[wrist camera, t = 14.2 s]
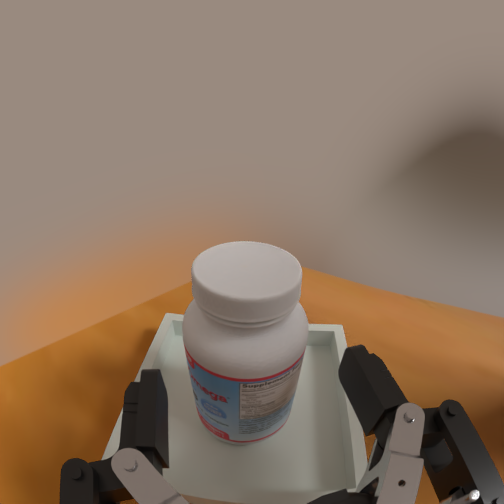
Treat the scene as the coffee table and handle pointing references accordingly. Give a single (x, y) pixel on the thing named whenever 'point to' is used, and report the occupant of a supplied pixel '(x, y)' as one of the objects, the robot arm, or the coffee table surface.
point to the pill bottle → (245, 339)
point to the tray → (270, 450)
